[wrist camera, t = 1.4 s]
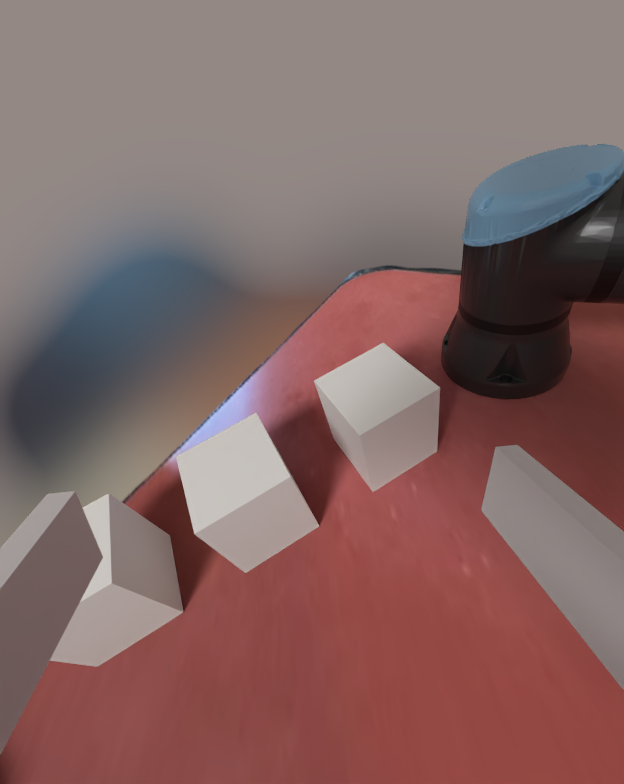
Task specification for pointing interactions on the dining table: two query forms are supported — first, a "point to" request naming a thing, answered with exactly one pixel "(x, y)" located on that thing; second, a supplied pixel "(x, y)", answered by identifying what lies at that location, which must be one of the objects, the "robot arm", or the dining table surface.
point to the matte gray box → (121, 586)
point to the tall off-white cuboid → (243, 495)
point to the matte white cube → (381, 414)
